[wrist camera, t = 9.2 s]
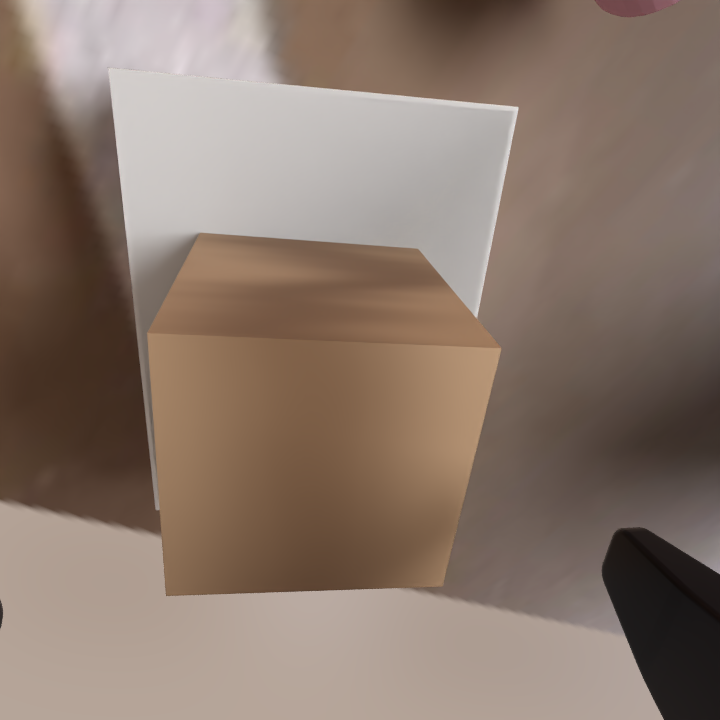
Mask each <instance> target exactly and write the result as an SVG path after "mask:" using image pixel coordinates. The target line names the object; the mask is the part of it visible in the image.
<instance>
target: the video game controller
mask: <svg viewBox="0 0 720 720" xmlns="http://www.w3.org/2000/svg"><path fill="white" fill-rule="evenodd" d="M595 1H596V3H597V4H598V5H599V6H600V7H601V8H602V9H603V10H604V11H606V12H608V13H610V14H613V15H617V16H621V17H636V16H643V15H647V14H650V13H654V12H657V11H659V10H662V9H664V8H666V7H669V6H671V5H673V4H675V3H677V2H678V1H680V0H595Z"/></svg>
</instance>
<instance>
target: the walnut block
mask: <svg viewBox="0 0 720 720" xmlns="http://www.w3.org/2000/svg"><path fill="white" fill-rule="evenodd" d="M147 339H148V353H149V366H150V380H151V394H152V408H153V422H154V436H155V450H156V463H157V477H158V491H159V505H160V519H161V533H162V547H163V560H164V574H165V588H166V596H178V595H207V594H235V593H265V592H294V591H324V590H350V589H351V590H352V589H379V588H380V589H382V588H411V587H440V586H443V582H444V578H445V574H446V570H447V566H448V562H449V558H450V554H451V550H452V546H453V542H454V538H455V534H456V530H457V526H458V522H459V518H460V514H461V510H462V506H463V502H464V498H465V494H466V489H467V485H468V481H469V477H470V473H471V469H472V465H473V461H474V457H475V453H476V449H477V445H478V441H479V437H480V433H481V429H482V425H483V421H484V417H485V413H486V409H487V405H488V401H489V397H490V393H491V389H492V385H493V381H494V377H495V373H496V369H497V365H498V361H499V357H500V353H501V349H502V348H501V347H500V346H499V345H498V344H497V342H496V341H495V340H494V339H493V338H492V336H491V335H490V334H489V333H488V332H487V330H486V329H485V328H484V327H483V326H482V324H481V323H480V322H479V321H478V320H477V318H476V317H475V316H474V315H473V314H472V312H471V311H470V310H469V309H468V308H467V307H466V305H465V304H464V303H463V302H462V301H461V299H460V298H459V297H458V296H457V295H456V293H455V292H454V291H453V290H452V289H451V287H450V286H449V285H448V284H447V283H446V281H445V280H444V279H443V278H442V277H441V275H440V274H439V273H438V272H437V271H436V270H435V268H434V267H433V266H432V265H431V264H430V262H429V261H428V260H427V259H426V258H425V256H424V255H423V254H422V253H421V252H420V250H419V249H416V248H402V247H389V246H375V245H362V244H348V243H335V242H321V241H307V240H294V239H280V238H267V237H253V236H240V235H226V234H213V233H200V234H199V235H198V237H197V239H196V241H195V243H194V245H193V247H192V249H191V251H190V253H189V254H188V256H187V258H186V260H185V262H184V264H183V266H182V268H181V270H180V272H179V273H178V275H177V277H176V279H175V281H174V283H173V285H172V287H171V289H170V291H169V292H168V294H167V296H166V298H165V300H164V302H163V304H162V306H161V308H160V310H159V311H158V313H157V315H156V317H155V319H154V321H153V323H152V325H151V327H150V329H149V330H148V332H147Z"/></svg>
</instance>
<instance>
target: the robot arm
mask: <svg viewBox="0 0 720 720" xmlns="http://www.w3.org/2000/svg"><path fill="white" fill-rule="evenodd" d="M602 577H603V581H604V584H605V586H606V589H607V591H608V594H609V596H610V599H611V601H612V604H613V606H614V609H615V611H616V613H617V616H618V618H619V621H620V623H621V626H622V628H623V631H624V633H625V636H626V638H627V641H628V643H629V645H630V648H631V650H632V653H633V655H634V658H635V660H636V663H637V665H638V667H639V670H640V672H641V674H642V676H643V679H644V681H645V683H646V685H647V687H648V689H649V691H650V693H651V695H652V697H653V699H654V701H655V703H656V705H657V707H658V709H659V711H660V713H661V715H662V717H663V719H664V720H720V574H718V573H717V572H715V571H713V570H712V569H710V568H709V567H707V566H705V565H704V564H702V563H701V562H699V561H697V560H696V559H694V558H692V557H691V556H689V555H688V554H686V553H684V552H683V551H681V550H680V549H678V548H676V547H675V546H673V545H672V544H670V543H668V542H667V541H665V540H663V539H662V538H660V537H659V536H657V535H655V534H654V533H652V532H651V531H649V530H647V529H645V528H640V527H638V528H621V529H618V530H617V531H616V532H615V533H614V535H613V537H612V540H611V542H610V545H609V548H608V551H607V553H606V556H605V559H604V562H603V565H602ZM2 618H3V608H2V603H1V601H0V628H1V624H2Z"/></svg>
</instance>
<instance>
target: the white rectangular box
mask: <svg viewBox="0 0 720 720" xmlns="http://www.w3.org/2000/svg"><path fill="white" fill-rule="evenodd" d="M108 71H109V81H110V90H111V99H112V108H113V118H114V127H115V136H116V146H117V155H118V164H119V174H120V183H121V192H122V201H123V211H124V220H125V229H126V239H127V248H128V257H129V266H130V276H131V285H132V294H133V304H134V313H135V322H136V332H137V341H138V350H139V359H140V369H141V378H142V387H143V397H144V406H145V415H146V424H147V434H148V443H149V452H150V462H151V471H152V480H153V490H154V499H155V508H156V510H160V505H159V491H158V477H157V463H156V450H155V436H154V422H153V408H152V394H151V380H150V366H149V353H148V339H147V332H148V330H149V329H150V327H151V325H152V323H153V321H154V319H155V317H156V315H157V313H158V311H159V310H160V308H161V306H162V304H163V302H164V300H165V298H166V296H167V294H168V292H169V291H170V289H171V287H172V285H173V283H174V281H175V279H176V277H177V275H178V273H179V272H180V270H181V268H182V266H183V264H184V262H185V260H186V258H187V256H188V254H189V253H190V251H191V249H192V247H193V245H194V243H195V241H196V239H197V237H198V235H199V234H200V233H213V234H226V235H240V236H253V237H267V238H280V239H294V240H307V241H321V242H335V243H348V244H362V245H375V246H389V247H402V248H416V249H419V250H420V252H421V253H422V254H423V255H424V256H425V258H426V259H427V260H428V261H429V262H430V264H431V265H432V266H433V267H434V268H435V270H436V271H437V272H438V273H439V274H440V275H441V277H442V278H443V279H444V280H445V281H446V283H447V284H448V285H449V286H450V287H451V289H452V290H453V291H454V292H455V293H456V295H457V296H458V297H459V298H460V299H461V301H462V302H463V303H464V304H465V305H466V307H467V308H468V309H469V310H470V311H471V312H472V314H473V315H474V316H475V317H476V318H477V315H478V310H479V305H480V300H481V295H482V289H483V284H484V279H485V274H486V269H487V264H488V259H489V254H490V249H491V244H492V239H493V234H494V229H495V224H496V219H497V214H498V209H499V204H500V198H501V193H502V188H503V183H504V178H505V173H506V168H507V163H508V158H509V153H510V148H511V143H512V138H513V133H514V128H515V123H516V118H517V113H518V107H512V106H502V105H492V104H482V103H471V102H461V101H450V100H440V99H430V98H419V97H409V96H398V95H388V94H378V93H367V92H357V91H347V90H336V89H326V88H315V87H305V86H295V85H284V84H274V83H264V82H253V81H243V80H232V79H222V78H212V77H201V76H191V75H180V74H170V73H160V72H149V71H139V70H129V69H118V68H108Z"/></svg>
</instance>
